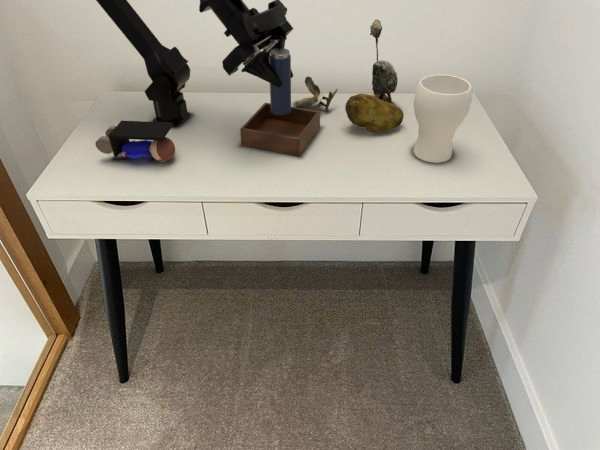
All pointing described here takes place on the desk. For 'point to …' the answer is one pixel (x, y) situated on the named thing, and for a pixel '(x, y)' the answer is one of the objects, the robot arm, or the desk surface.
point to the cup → (439, 114)
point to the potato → (373, 113)
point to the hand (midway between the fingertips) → (286, 81)
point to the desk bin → (280, 130)
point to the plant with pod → (382, 72)
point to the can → (282, 94)
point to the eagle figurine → (315, 95)
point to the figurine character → (133, 149)
